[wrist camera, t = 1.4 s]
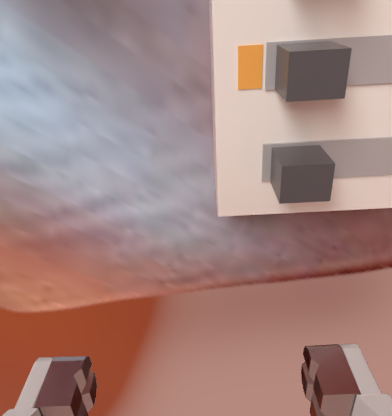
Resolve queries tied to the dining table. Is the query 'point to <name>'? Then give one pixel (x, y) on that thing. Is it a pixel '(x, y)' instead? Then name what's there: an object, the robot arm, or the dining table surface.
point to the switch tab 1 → (312, 71)
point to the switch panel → (300, 102)
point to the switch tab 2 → (301, 174)
